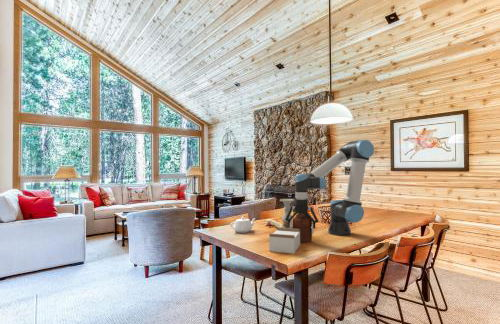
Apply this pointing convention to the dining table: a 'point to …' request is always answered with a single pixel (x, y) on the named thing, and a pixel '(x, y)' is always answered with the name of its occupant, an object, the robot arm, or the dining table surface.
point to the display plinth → (284, 240)
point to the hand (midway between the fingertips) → (301, 232)
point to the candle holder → (286, 211)
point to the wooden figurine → (303, 227)
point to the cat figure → (273, 223)
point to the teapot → (242, 225)
